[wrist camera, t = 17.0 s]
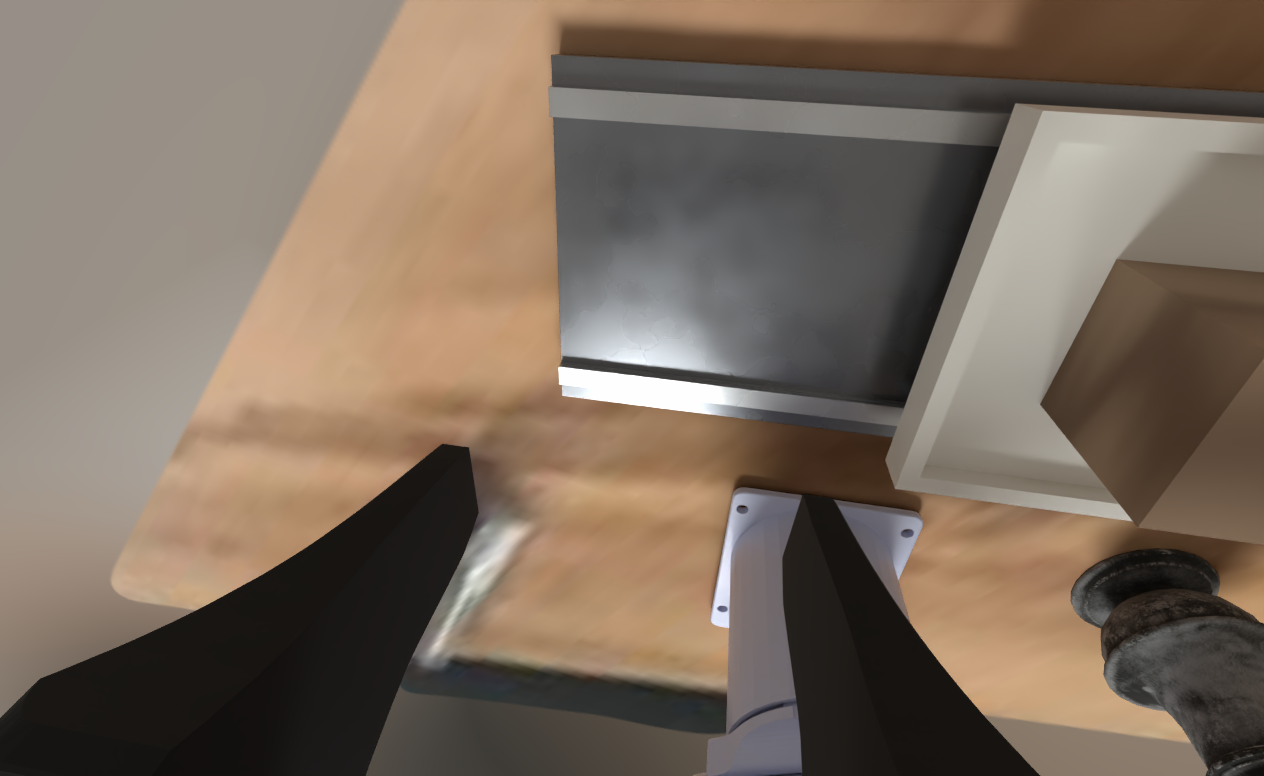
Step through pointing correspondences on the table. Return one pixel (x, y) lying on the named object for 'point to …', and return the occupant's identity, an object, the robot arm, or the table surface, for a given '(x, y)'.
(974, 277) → the white recessed tray
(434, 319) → the table surface
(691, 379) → the dark grey tray
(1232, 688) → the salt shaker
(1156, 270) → the plain brown block
